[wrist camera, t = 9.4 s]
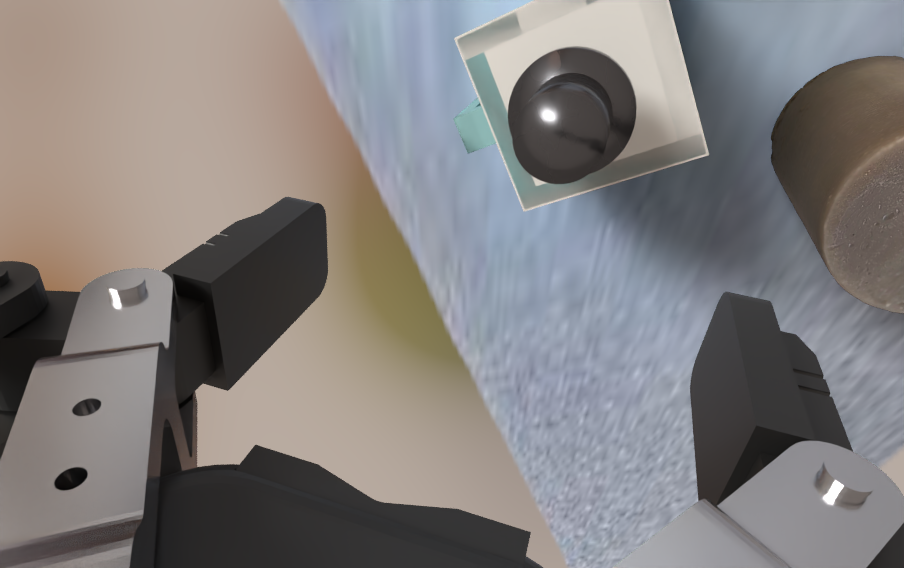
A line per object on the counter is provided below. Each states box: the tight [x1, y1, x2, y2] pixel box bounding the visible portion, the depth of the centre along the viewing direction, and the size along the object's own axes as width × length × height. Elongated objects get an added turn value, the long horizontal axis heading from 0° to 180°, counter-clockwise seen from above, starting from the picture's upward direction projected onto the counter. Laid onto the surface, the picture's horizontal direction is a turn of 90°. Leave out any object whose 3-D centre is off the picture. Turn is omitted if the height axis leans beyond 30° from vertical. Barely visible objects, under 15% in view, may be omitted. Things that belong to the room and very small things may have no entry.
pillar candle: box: [771, 56, 904, 314], centre depth 30 cm, size 10×10×15 cm
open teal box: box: [454, 0, 709, 211], centre depth 33 cm, size 9×11×14 cm
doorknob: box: [508, 46, 637, 184], centre depth 28 cm, size 6×6×18 cm
